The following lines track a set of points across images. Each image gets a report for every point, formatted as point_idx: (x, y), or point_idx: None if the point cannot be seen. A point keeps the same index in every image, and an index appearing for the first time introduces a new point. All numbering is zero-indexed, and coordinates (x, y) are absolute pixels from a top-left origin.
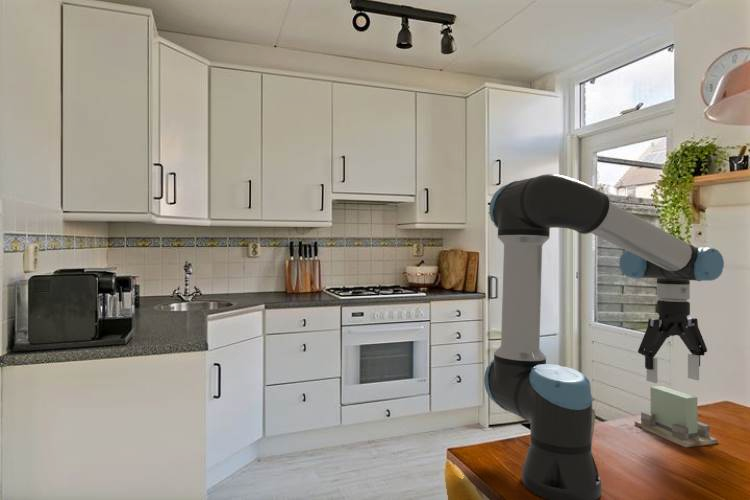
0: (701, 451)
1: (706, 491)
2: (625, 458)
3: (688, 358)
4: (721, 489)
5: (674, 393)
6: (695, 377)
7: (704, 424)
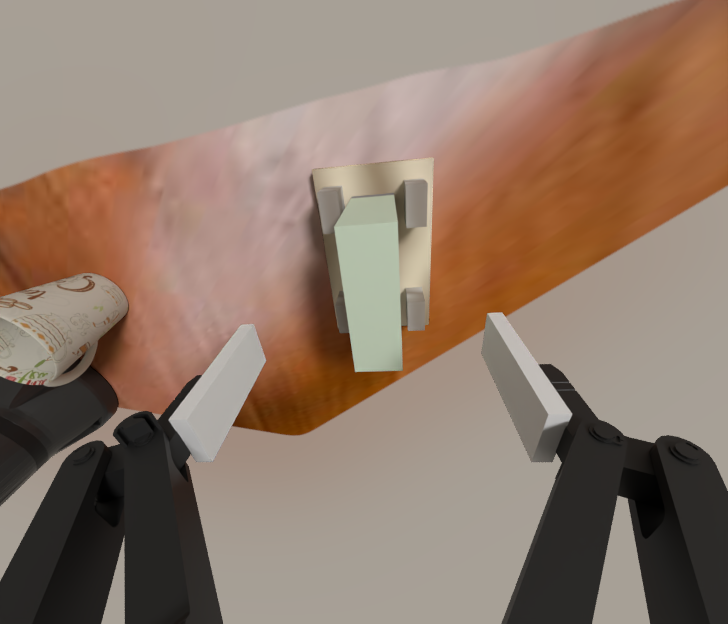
0: None
1: (257, 427)
2: (190, 338)
3: (529, 391)
4: (280, 427)
5: (360, 326)
6: (484, 355)
7: (419, 321)
